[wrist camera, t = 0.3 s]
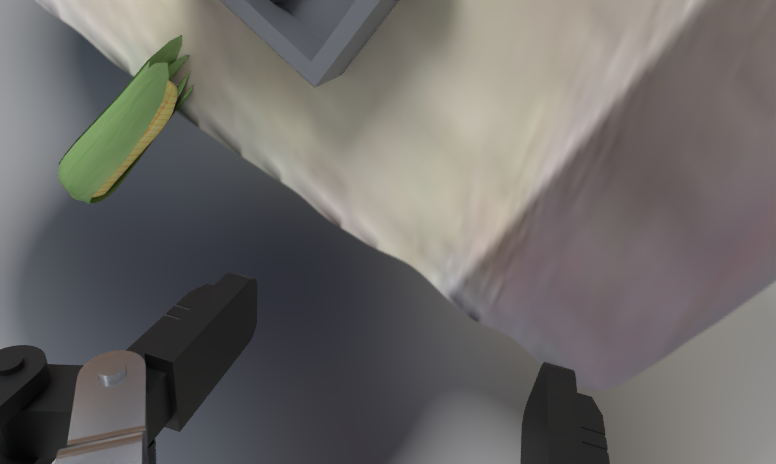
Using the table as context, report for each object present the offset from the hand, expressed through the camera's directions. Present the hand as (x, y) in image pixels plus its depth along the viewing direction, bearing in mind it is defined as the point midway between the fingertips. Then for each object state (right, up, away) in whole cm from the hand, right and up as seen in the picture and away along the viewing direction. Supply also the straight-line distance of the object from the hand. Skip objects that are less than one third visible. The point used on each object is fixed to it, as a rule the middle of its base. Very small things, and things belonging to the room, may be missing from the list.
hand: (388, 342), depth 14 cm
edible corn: (-22, +13, +33) cm, 42 cm away
